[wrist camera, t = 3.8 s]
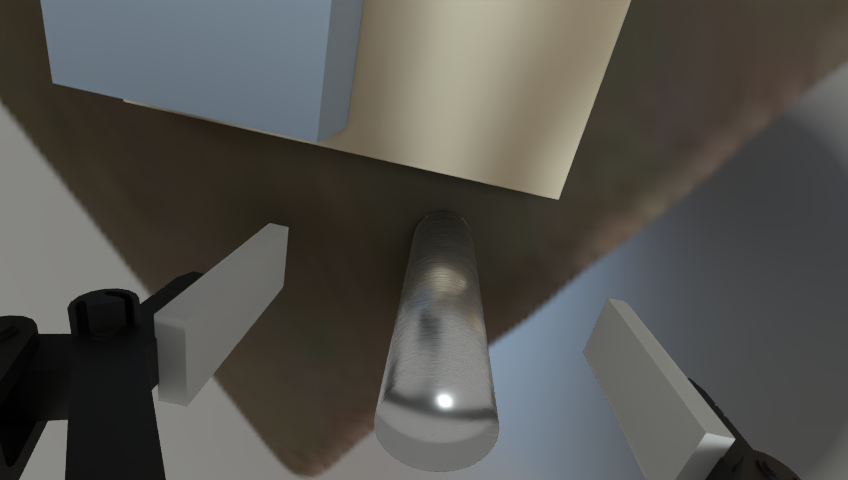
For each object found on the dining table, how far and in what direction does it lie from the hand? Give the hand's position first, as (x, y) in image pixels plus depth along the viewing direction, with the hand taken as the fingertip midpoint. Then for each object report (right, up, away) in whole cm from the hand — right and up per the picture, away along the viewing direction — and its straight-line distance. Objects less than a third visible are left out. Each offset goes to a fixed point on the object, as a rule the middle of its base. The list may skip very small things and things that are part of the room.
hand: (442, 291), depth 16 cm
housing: (-7, +10, -2) cm, 12 cm away
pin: (0, +2, +4) cm, 5 cm away
